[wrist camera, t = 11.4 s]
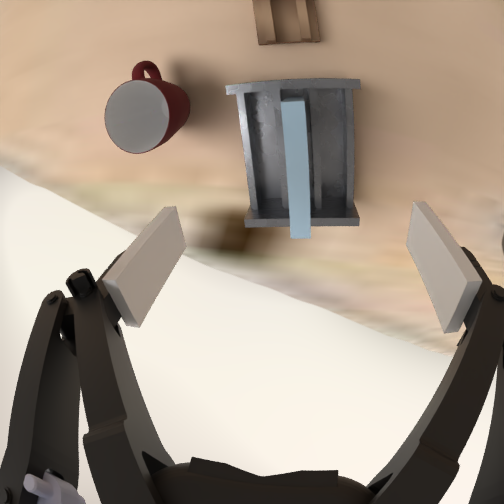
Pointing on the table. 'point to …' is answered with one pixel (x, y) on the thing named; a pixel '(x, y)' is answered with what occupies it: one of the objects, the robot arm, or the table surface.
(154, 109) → the mug
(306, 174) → the light blue slab
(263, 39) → the stand
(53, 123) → the table surface
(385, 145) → the table surface
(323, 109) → the rack
